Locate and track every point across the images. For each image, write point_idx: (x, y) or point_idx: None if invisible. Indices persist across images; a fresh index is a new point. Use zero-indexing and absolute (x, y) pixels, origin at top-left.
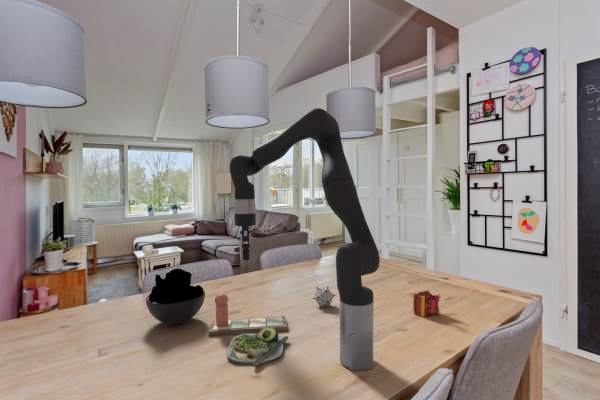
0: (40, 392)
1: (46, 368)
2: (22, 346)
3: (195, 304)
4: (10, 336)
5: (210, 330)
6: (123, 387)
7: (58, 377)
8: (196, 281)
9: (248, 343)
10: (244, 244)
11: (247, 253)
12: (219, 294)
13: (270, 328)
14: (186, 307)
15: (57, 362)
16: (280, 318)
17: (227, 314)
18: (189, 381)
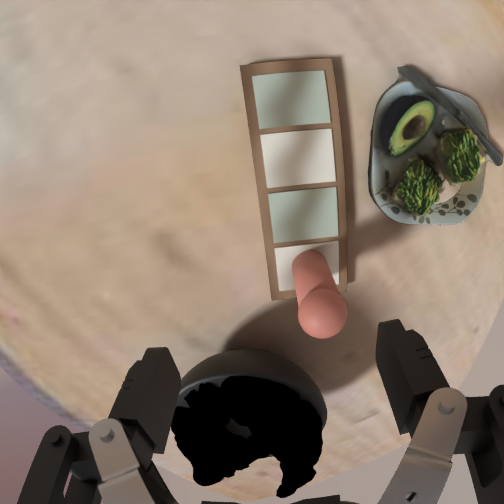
0: None
1: (390, 436)
2: (321, 475)
3: (292, 371)
4: None
5: (340, 288)
6: (473, 345)
7: None
8: (11, 366)
9: (463, 178)
10: (148, 453)
11: (434, 366)
12: (332, 332)
13: (406, 115)
14: (312, 382)
15: (379, 436)
16: (266, 79)
17: (320, 266)
18: (494, 268)
